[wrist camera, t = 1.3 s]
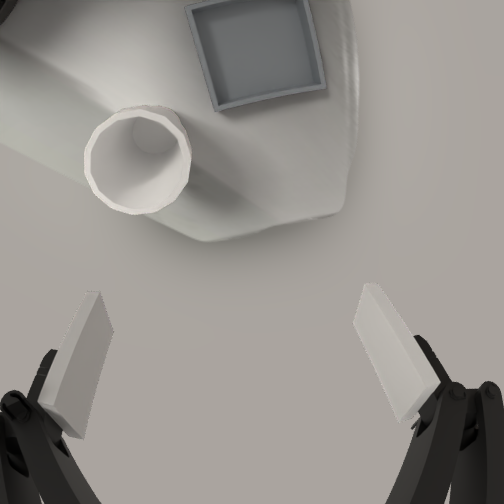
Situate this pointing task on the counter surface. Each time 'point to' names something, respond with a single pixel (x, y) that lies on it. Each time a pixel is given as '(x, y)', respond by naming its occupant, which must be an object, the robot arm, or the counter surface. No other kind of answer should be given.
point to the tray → (255, 49)
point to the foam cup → (138, 159)
